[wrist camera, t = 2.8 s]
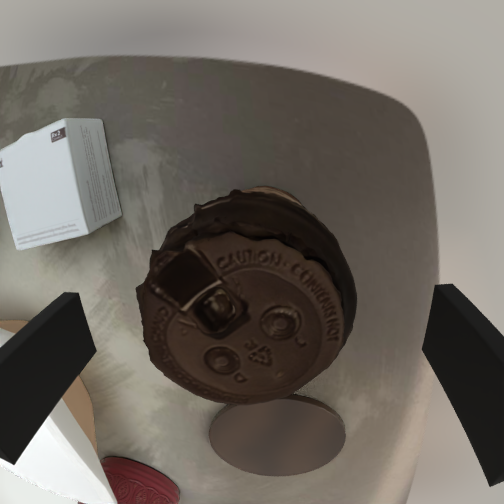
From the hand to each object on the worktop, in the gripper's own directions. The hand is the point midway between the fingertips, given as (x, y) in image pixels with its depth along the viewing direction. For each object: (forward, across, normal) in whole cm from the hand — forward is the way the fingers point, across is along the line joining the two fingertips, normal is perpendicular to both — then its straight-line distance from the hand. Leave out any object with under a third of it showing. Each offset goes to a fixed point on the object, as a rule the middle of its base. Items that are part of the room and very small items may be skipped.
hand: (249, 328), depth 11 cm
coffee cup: (+12, 0, 0) cm, 13 cm away
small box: (+13, -15, +5) cm, 20 cm away
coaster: (+12, 0, -22) cm, 25 cm away
